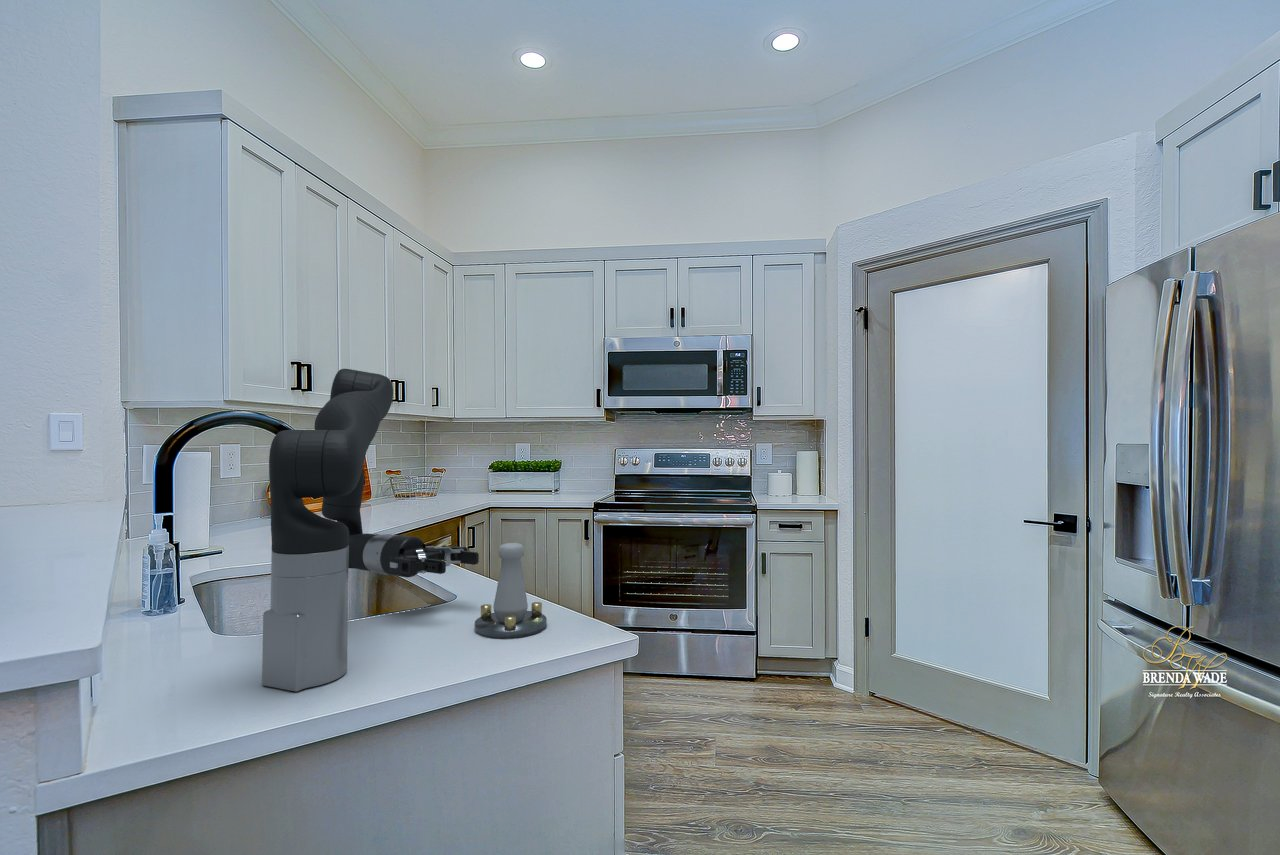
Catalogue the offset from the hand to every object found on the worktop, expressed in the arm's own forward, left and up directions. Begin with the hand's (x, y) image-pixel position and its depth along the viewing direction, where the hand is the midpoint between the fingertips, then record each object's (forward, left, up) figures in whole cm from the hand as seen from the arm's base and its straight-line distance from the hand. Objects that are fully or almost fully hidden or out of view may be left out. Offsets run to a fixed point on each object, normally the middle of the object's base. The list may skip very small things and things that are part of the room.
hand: (461, 562), depth 108 cm
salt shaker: (-1, -11, -9) cm, 14 cm away
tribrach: (-1, -11, -10) cm, 15 cm away
